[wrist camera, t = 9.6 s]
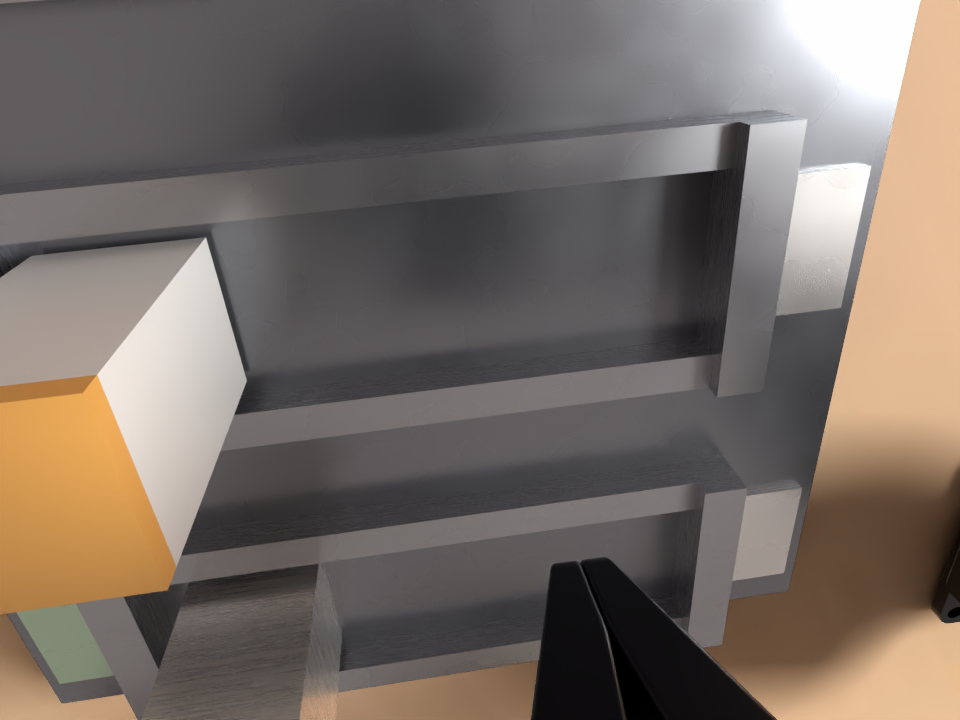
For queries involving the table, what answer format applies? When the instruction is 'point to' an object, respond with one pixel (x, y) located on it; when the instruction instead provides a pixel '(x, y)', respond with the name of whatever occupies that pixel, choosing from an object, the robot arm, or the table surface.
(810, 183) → the panel
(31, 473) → the handle
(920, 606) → the table surface
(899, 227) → the table surface
